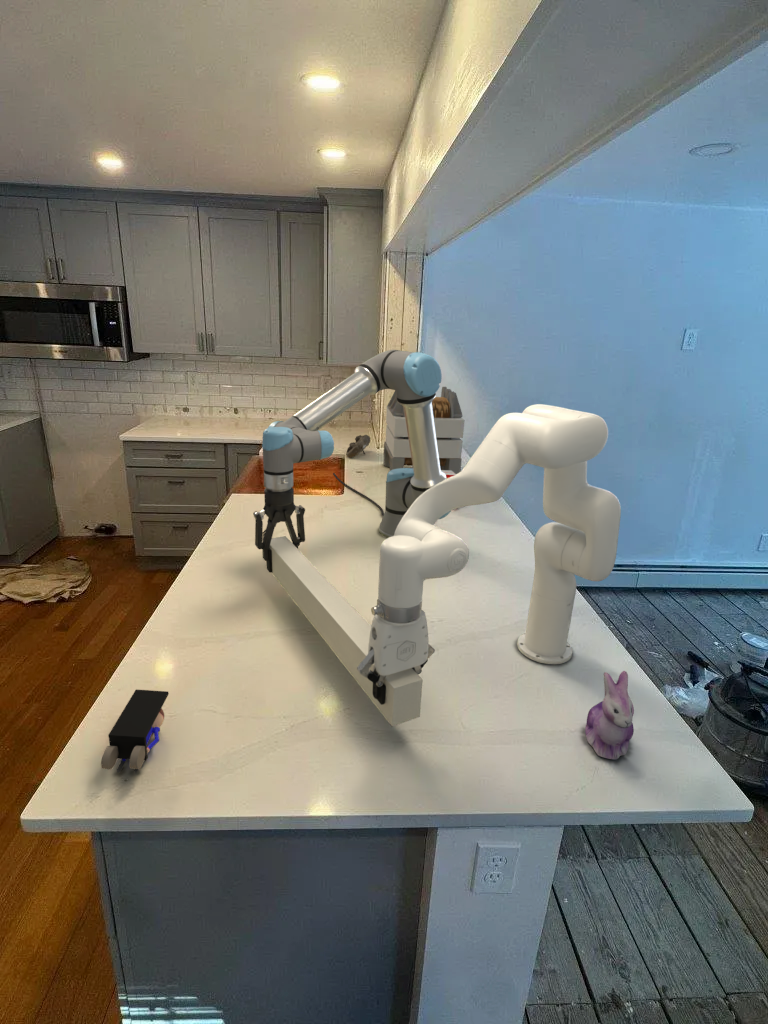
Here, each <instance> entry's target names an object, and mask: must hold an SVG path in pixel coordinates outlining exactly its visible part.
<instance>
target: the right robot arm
mask: <svg viewBox="0 0 768 1024" xmlns="http://www.w3.org/2000/svg"><path fill="white" fill-rule="evenodd" d="M608 438H609V428H608V425H607V423H606V421H605V419H604V418H603V417H601V416H600V415H598V414H595V413H591V412H587V411H581V410H577V409H576V410H575V409H570V408H566V407H562V406H556V405H550V404H542V403H538V404H537V403H536V404H531V405H529V406H527V407H525V408H524V410H523V411H522V412H509V413H505V414H503V415H502V416H501V417H500V418H498V420H496V422H495V423H494V425H493V426H492V427H491V429H490V430H489V432H488V433H487V435H486V436H485V437H484V438H483V440H482V441H481V443H480V444H479V446H478V447H477V448H476V449H475V451H474V453H473V454H472V456H471V457H470V458H469V459H468V461H467V463H466V464H465V465H464V467H463V468H461V472H459V473H458V474H456V475H454V476H452V477H450V478H447V479H445V480H443V481H442V482H440V483H438V484H436V485H435V486H433V487H431V488H430V489H428V490H427V491H425V492H424V493H422V494H421V495H420V496H419V497H418V498H417V499H416V500H415V501H414V502H413V504H412V505H411V506H410V508H409V509H408V510H407V512H406V513H405V515H404V516H403V518H402V519H401V521H400V522H399V524H398V526H397V528H396V530H395V533H394V536H392V537H389V538H387V537H386V538H385V539H384V540H383V541H382V542H381V544H380V545H379V559H378V560H379V563H378V587H377V589H378V591H377V599H376V605H374V606H373V607H371V608H370V611H371V614H372V616H373V619H372V622H371V631H370V637H369V647H368V655H367V656H366V657H365V658H364V660H363V661H362V662H361V663H360V665H359V666H358V667H357V671H358V672H359V673H360V674H361V675H362V676H364V677H366V678H368V679H369V680H370V681H372V682H373V691H372V693H373V697H374V698H375V699H377V700H378V701H379V703H380V704H381V705H383V704H385V695H386V686H385V684H384V680H385V678H386V675H390V674H393V673H397V672H400V671H403V670H406V669H410V668H412V669H413V670H414V671H415V672H416V673H417V674H418V675H419V676H420V674H422V672H423V670H422V669H423V667H424V666H425V665H426V664H427V663H428V661H429V659H430V658H431V657H432V656H433V654H434V653H435V651H436V650H435V648H434V647H433V646H432V645H431V644H430V643H429V627H428V621H427V615H426V612H425V610H423V593H424V582H425V581H426V580H433V579H441V578H448V577H451V576H454V575H456V574H458V573H460V572H461V571H462V570H463V569H464V568H465V567H466V566H467V564H468V562H469V560H470V559H469V558H470V549H469V546H468V544H467V543H466V542H465V540H464V539H462V538H461V537H459V536H458V535H456V534H454V533H451V532H450V531H447V530H446V529H443V528H441V527H439V526H437V525H435V524H436V522H438V521H439V520H440V519H439V518H440V517H442V516H443V515H444V514H446V513H448V512H449V511H451V512H452V511H454V510H456V509H460V508H465V507H470V506H478V505H486V504H492V503H495V502H498V501H500V499H501V498H502V497H503V495H504V494H505V492H506V491H507V489H508V488H509V487H510V485H511V484H512V483H513V481H514V479H515V478H516V477H517V475H518V474H519V472H520V470H521V469H522V468H523V467H524V465H526V464H528V465H533V466H536V467H540V468H543V485H542V486H543V490H542V509H543V514H544V515H545V516H546V517H547V518H548V519H549V520H551V521H552V522H547V523H544V524H543V525H542V526H540V527H539V528H538V530H537V531H536V534H535V536H534V540H533V555H534V572H533V580H532V587H531V594H530V601H529V608H528V613H527V621H526V627H525V628H526V629H525V632H524V633H521V635H519V637H518V639H517V643H516V646H517V649H518V650H519V651H520V653H521V654H522V655H523V656H525V657H526V658H528V659H530V660H532V661H534V662H537V663H541V664H546V665H559V664H564V663H566V662H568V661H570V660H571V658H572V656H573V648H572V646H571V644H570V643H569V642H568V639H569V632H570V628H571V627H570V626H571V622H572V616H573V611H574V610H573V609H574V605H575V599H576V594H577V579H576V576H577V577H579V578H582V579H584V580H587V581H590V582H602V581H605V580H606V579H607V578H608V577H609V576H610V575H611V574H612V571H613V570H614V567H615V564H616V559H617V554H618V543H619V535H620V527H621V525H620V524H621V516H622V515H621V514H622V508H621V503H620V501H619V498H618V497H617V496H616V495H615V494H614V493H613V492H611V491H609V490H607V489H604V488H601V487H597V486H594V485H591V484H589V482H588V480H587V478H588V477H587V476H588V475H587V473H588V461H590V460H592V459H594V458H595V457H597V456H598V455H599V454H600V453H601V452H602V451H603V450H604V448H605V446H606V444H607V442H608ZM438 519H439V520H438ZM372 664H374V667H373V669H372V671H371V670H370V669H369V668H370V667H371V665H372ZM378 674H379V676H378Z"/></svg>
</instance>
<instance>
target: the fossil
mask: <svg viewBox="0 0 768 1024" xmlns="http://www.w3.org/2000/svg"><path fill="white" fill-rule="evenodd" d="M354 440H355V442H350V443H349V445H348V447H347V449H346V454H345V455H346V457H347V458H350V459H351V458H354V457H357V456H358V455H359V454H361V453H363V454H364V455H366V452H365V449H366V448H367V447H368V446H369V445H370V443H371V437H370V435H368V434H364V435H361V434H359V435H356V436H355V438H354Z"/></svg>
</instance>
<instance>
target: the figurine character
mask: <svg viewBox="0 0 768 1024" xmlns="http://www.w3.org/2000/svg"><path fill="white" fill-rule="evenodd" d="M168 696H169V691H165V690H164V691H163V690H152V689H151V690H149V689H135V690H134V692H133V693H132V695H131V697H130V698H129V700H128V701H127V703H126V705H125V707H124V708H123V710H122V712H121V713H120V715H119V717H117V720H116V722H114V725H113V727H112V728H111V729H110V731H109V733H108V734H107V735H108V736H107V737H108V743H109V745H108V746H106V748H105V749H104V751H103V753H102V756H101V761H100V766H101V769H102V770H112V769H113V768H114V767H115V766H116V763H117V762H118V760H120V761H119V764H118V765H117V767H116V772H117V773H118V774H119V773H121V772H122V771H123V769H124V766H125V764H126V762H127V760H128V761H129V769H131V770H132V769H133V772H134V774H136V773H137V772H139V771H140V769H141V768H142V766H143V764H144V762H145V761H146V762H147V761H148V758H149V757H148V754H149V753H150V751H151V750H152V749H153V748H154V747H155V746H156V744H158V742H160V737H159V732H160V731H161V727H162V725H163V723H164V721H165V712H164V710H163V706H164V704H165V702H166V700H167V698H168ZM152 735H153V736H154V739H153V740H152V741H151V742H150V744H149V741H150V740H151V737H152Z"/></svg>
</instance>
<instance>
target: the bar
mask: <svg viewBox="0 0 768 1024" xmlns="http://www.w3.org/2000/svg"><path fill="white" fill-rule="evenodd" d="M269 548H270V549H271V550H272V572H271V573H270V574H272V575H273V577H274V578H275V579H276V580H277V582H278V584H279V585H280V586H281V587H282V588H283V590H284V591H285V592H286V593H287V595H288V596H289V597H290V598H291V600H292V601H293V602H294V604H295V605H296V606H297V607H298V609H299V610H300V611H301V613H302V614H303V615H304V616H305V618H306V619H307V620H308V622H309V623H310V624H311V625H312V627H313V628H314V629H315V631H316V632H317V633H318V634H319V635H320V636H321V638H322V640H323V641H324V642H325V643H326V644H327V646H328V647H329V648H330V649H331V651H332V652H333V653H334V655H335V656H336V657H337V659H338V660H339V661H340V662H341V663H342V666H344V667H345V668H346V670H347V671H348V673H349V674H350V675H351V676H352V678H353V679H354V680H355V681H356V683H357V684H358V685H359V687H360V688H361V689H362V691H364V693H365V694H366V695H367V697H368V698H369V699H370V700H371V702H372V703H373V704H374V706H375V707H376V708H377V709H378V711H379V713H381V715H382V716H383V717H384V719H385V720H386V721H387V722H388V724H389V725H390V726H391V728H392V727H395V726H398V725H402V724H403V723H406V722H409V721H412V720H415V719H417V718H420V717H421V707H422V696H423V695H422V694H423V692H422V691H423V678H422V677H421V676H420V674H419V675H418V674H417V673H416V672H415V671H414V670H413V669H412V668H410V669H406V670H403V671H400V672H397V673H393V674H390V675H386V678H385V680H384V684H385V686H386V695H385V704H383V705H381V704H380V703H379V701H378V700H377V699H375V698H374V697H373V693H372V691H373V682H372V681H370V680H369V679H368V678H366V677H364V676H362V675H361V674H360V673H359V672H358V671H357V667H358V666H359V665H360V663H361V662H362V661H363V660H364V658H365V657H366V656H367V655H368V647H369V637H370V631H371V626H372V624H370V623H369V622H368V620H367V619H366V618H365V617H364V616H363V615H362V614H361V613H360V612H359V611H358V610H357V609H356V608H355V607H354V606H353V605H352V604H351V603H350V602H349V601H348V600H347V599H346V597H345V596H344V595H343V594H342V593H341V592H340V591H339V590H338V589H337V588H336V587H335V586H334V585H333V584H332V583H331V582H330V581H329V580H328V579H327V578H326V577H325V576H324V574H323V573H321V572H320V570H319V569H318V568H317V567H316V566H315V565H314V564H313V563H312V562H311V561H310V560H309V559H308V558H307V557H306V556H305V555H304V553H302V551H301V550H300V549H299V548H298V549H297V548H296V547H295V545H294V544H293V543H292V540H291V539H289V538H288V537H287V536H286V535H283V536H278V537H272V539H271V543H270V546H269ZM265 566H266V567H267V564H266V563H265ZM373 667H374V664H372V665H371V667H370V668H369V669H370V670H371V671H372V669H373ZM378 676H379V674H378Z"/></svg>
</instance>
